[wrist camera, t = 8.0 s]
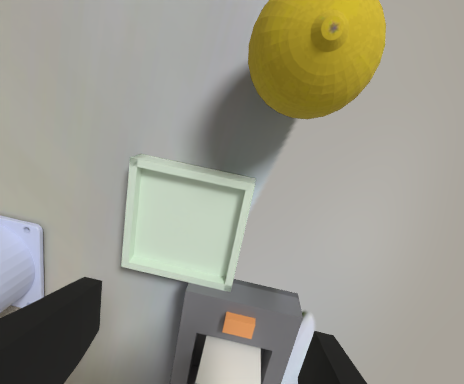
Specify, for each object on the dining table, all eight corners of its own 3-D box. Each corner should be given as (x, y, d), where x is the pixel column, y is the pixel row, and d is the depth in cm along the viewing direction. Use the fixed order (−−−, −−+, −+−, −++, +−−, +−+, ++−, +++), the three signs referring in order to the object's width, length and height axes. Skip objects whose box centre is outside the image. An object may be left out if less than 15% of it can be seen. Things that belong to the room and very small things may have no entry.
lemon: (290, 136, 17) (315, 154, 9) (232, 66, 16) (207, 23, 8) (365, 72, 15) (469, 31, 8) (306, -8, 15) (357, -141, 7)
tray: (131, 255, 21) (121, 266, 19) (140, 153, 18) (129, 157, 17) (232, 278, 20) (230, 292, 19) (255, 178, 18) (255, 184, 16)
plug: (201, 358, 22) (181, 444, 16) (210, 319, 21) (191, 396, 15) (250, 370, 22) (247, 461, 16) (261, 331, 21) (261, 414, 15)
